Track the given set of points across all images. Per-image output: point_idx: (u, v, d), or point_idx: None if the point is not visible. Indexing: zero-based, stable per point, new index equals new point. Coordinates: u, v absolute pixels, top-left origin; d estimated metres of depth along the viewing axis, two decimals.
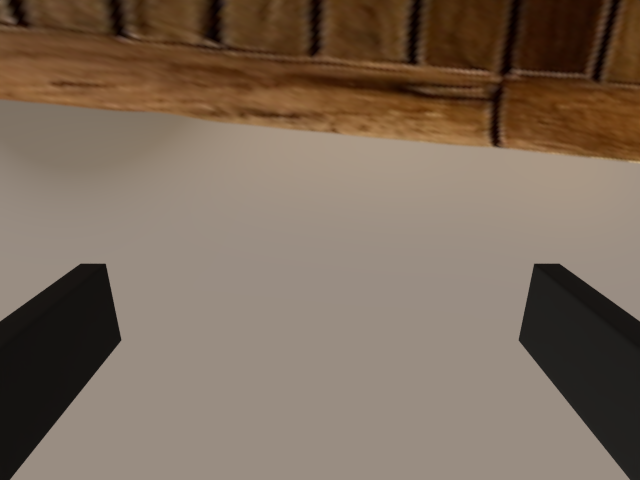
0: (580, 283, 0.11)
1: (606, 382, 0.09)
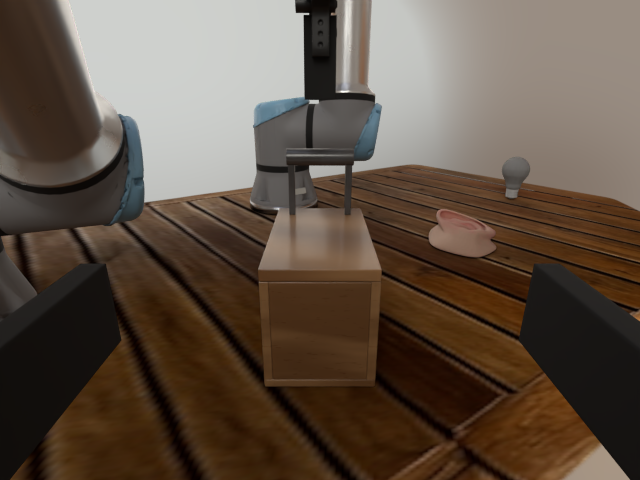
0: (580, 283, 0.11)
1: (606, 383, 0.09)
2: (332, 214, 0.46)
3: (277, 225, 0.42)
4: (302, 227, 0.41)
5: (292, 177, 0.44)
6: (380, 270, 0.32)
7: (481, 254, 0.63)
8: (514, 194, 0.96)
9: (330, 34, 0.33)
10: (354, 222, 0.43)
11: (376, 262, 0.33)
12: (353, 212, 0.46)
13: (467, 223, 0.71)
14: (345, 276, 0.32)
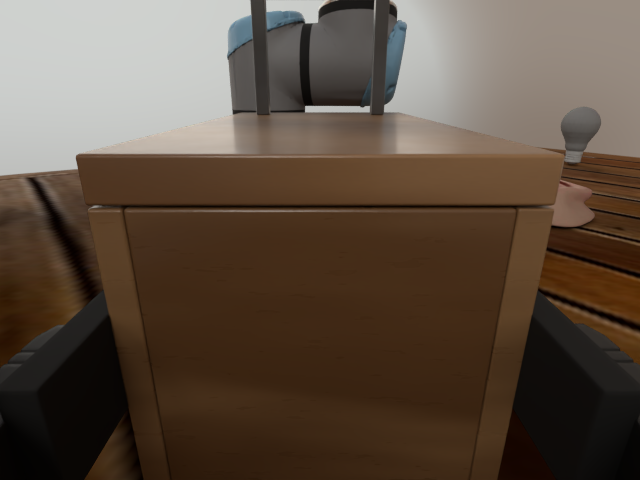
0: None
1: None
2: (346, 114, 0.22)
3: (222, 119, 0.18)
4: (280, 120, 0.18)
5: (259, 25, 0.20)
6: (559, 158, 0.08)
7: (578, 222, 0.39)
8: (577, 158, 0.72)
9: None
10: (396, 118, 0.19)
11: (521, 145, 0.09)
12: None
13: None
14: (420, 184, 0.08)
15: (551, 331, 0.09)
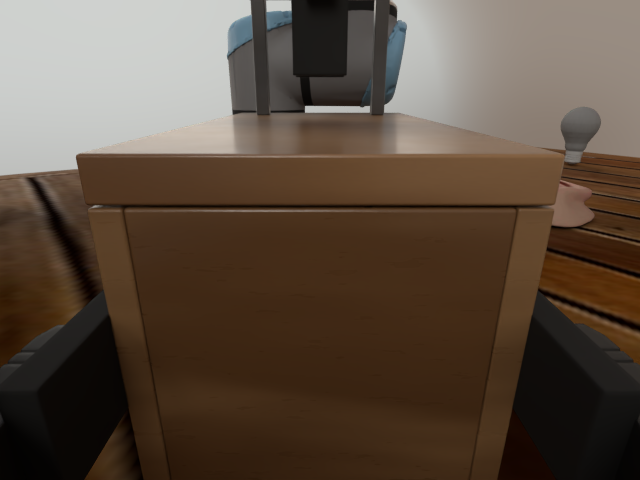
0: None
1: None
2: None
3: (222, 119, 0.18)
4: (280, 120, 0.18)
5: (259, 26, 0.20)
6: (559, 158, 0.08)
7: (578, 222, 0.39)
8: (577, 158, 0.72)
9: None
10: (396, 118, 0.19)
11: (521, 145, 0.09)
12: (387, 114, 0.23)
13: None
14: (420, 184, 0.08)
15: (551, 331, 0.09)
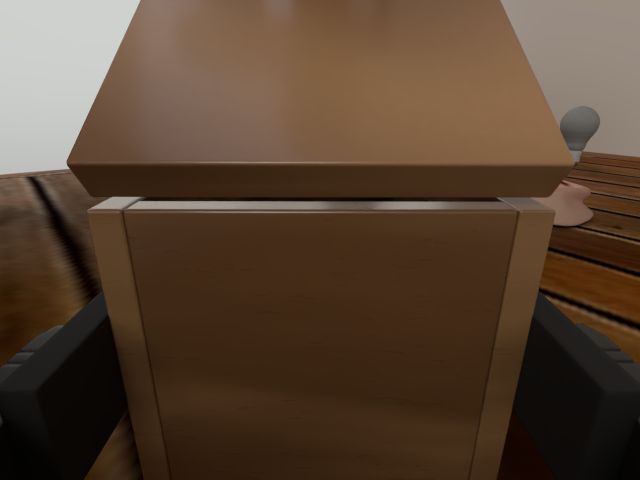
0: None
1: None
2: None
3: None
4: None
5: None
6: (568, 166, 0.08)
7: (577, 221, 0.39)
8: (576, 157, 0.72)
9: None
10: None
11: (542, 114, 0.08)
12: None
13: None
14: (420, 184, 0.08)
15: (551, 331, 0.09)
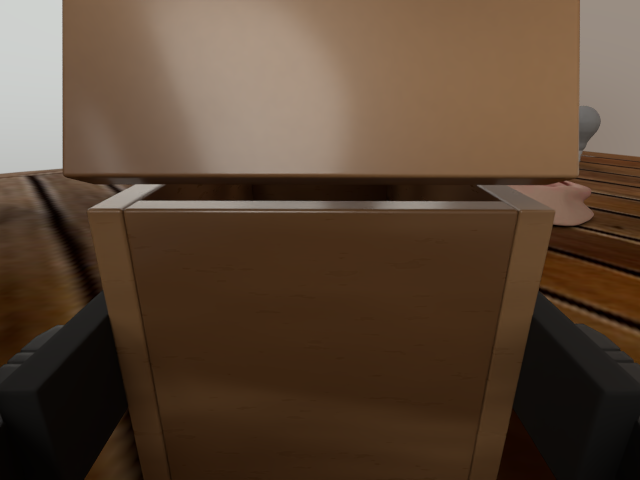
0: None
1: None
2: None
3: None
4: None
5: None
6: (571, 176, 0.08)
7: (577, 221, 0.39)
8: None
9: None
10: None
11: (567, 104, 0.08)
12: None
13: None
14: (420, 182, 0.08)
15: (551, 331, 0.09)
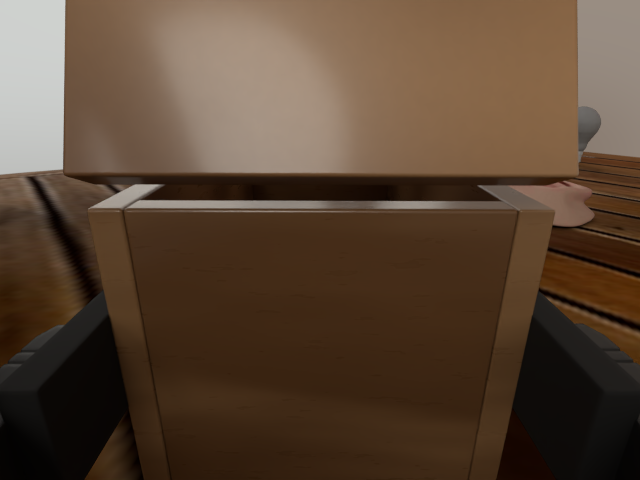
0: None
1: None
2: None
3: None
4: None
5: None
6: (571, 176, 0.08)
7: (578, 222, 0.39)
8: None
9: None
10: None
11: (566, 103, 0.08)
12: None
13: None
14: (420, 182, 0.08)
15: (551, 331, 0.09)
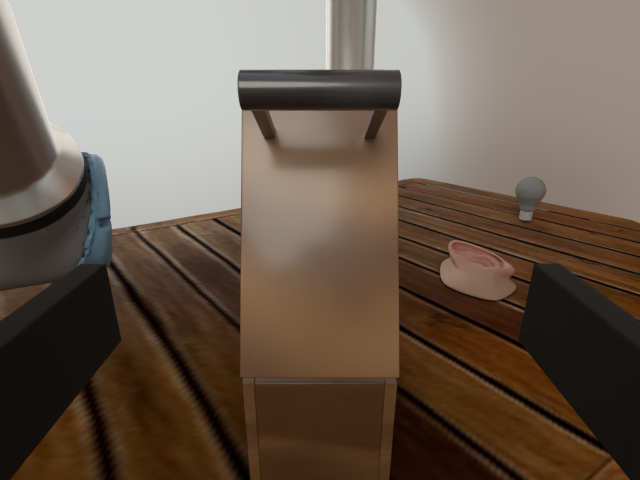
0: (580, 283, 0.11)
1: (606, 383, 0.09)
2: (342, 133, 0.25)
3: (247, 198, 0.25)
4: (291, 210, 0.25)
5: (260, 114, 0.21)
6: (397, 377, 0.25)
7: (500, 297, 0.56)
8: (529, 217, 0.89)
9: None
10: (378, 181, 0.25)
11: (395, 355, 0.25)
12: None
13: (482, 257, 0.64)
14: None
15: None
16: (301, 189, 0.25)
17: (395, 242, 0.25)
